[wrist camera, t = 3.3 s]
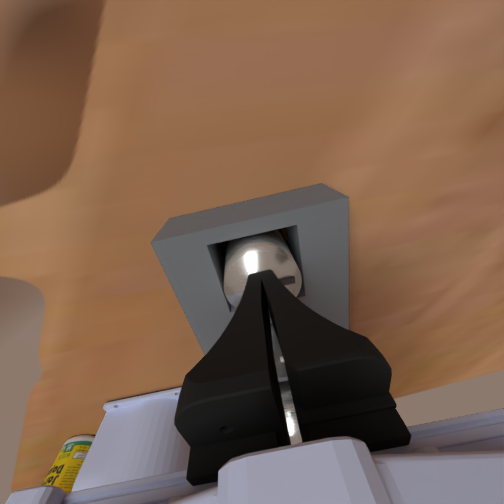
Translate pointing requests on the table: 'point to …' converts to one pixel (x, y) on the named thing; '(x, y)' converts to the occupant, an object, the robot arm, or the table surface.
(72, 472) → the supplement bottle
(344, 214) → the control panel
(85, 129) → the table surface
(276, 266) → the knob
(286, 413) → the knob
